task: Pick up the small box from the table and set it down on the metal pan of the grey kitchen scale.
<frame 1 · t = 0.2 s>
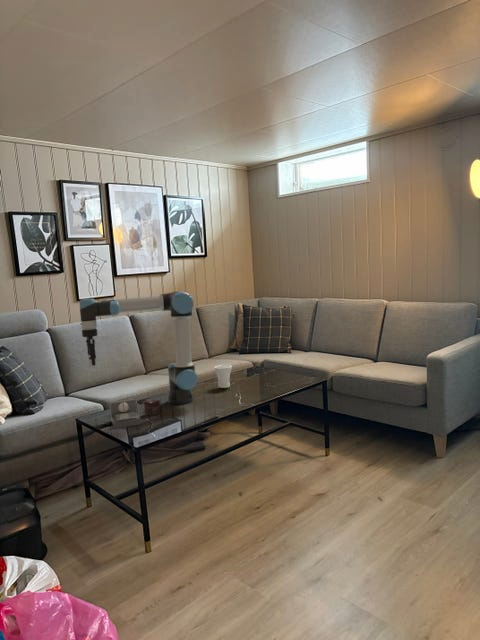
hand: (92, 369, 247), 28 cm above the table, tool pointing down, fingers open, 13 cm apart
box: (152, 414, 257), on the table
cup: (224, 388, 306), on the table
scale: (125, 422, 244), on the table
pan: (125, 416, 242), point 4 cm above the table, slide at -0.7 cm
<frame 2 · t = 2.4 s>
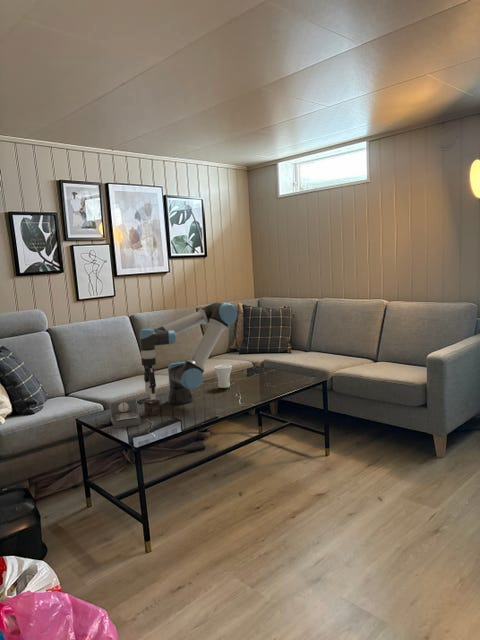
hand: (150, 396, 256), 10 cm above the table, tool pointing down, fingers open, 13 cm apart
nothing on the table moved.
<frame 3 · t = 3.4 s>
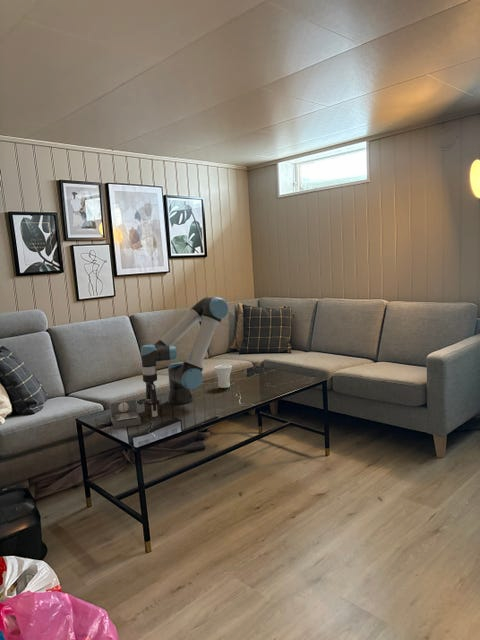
hand: (152, 413, 257), 0 cm above the table, tool pointing down, fingers open, 11 cm apart
nothing on the table moved.
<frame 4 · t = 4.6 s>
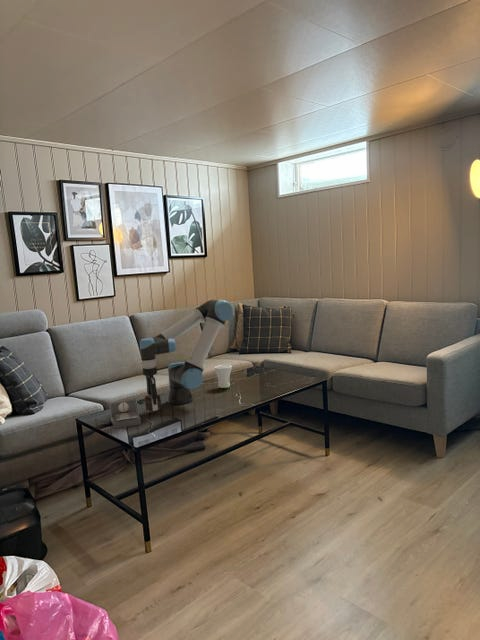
hand: (153, 408, 257), 3 cm above the table, tool pointing down, fingers closed on box, 8 cm apart
box: (153, 409, 257), point 2 cm above the table, touching gripper
everything else where it was.
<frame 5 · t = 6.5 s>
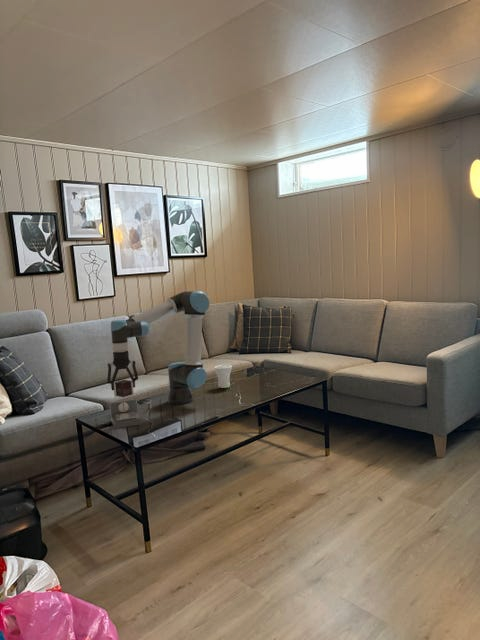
hand: (124, 395, 241), 15 cm above the table, tool pointing down, fingers closed on box, 8 cm apart
box: (124, 395, 241), point 14 cm above the table, touching gripper
everything else where it was.
when the fingers open (6 cm above the table, at t = 8.2 s): box drops 1 cm, resting on pan.
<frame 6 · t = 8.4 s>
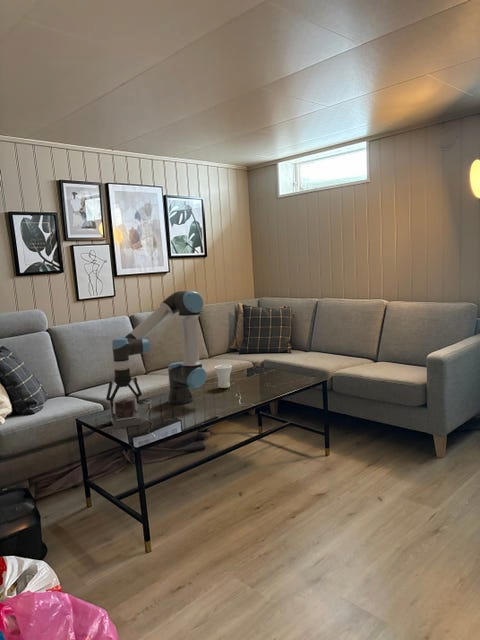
hand: (125, 411, 242), 6 cm above the table, tool pointing down, fingers open, 10 cm apart
box: (125, 415, 242), point 4 cm above the table, touching pan
pan: (125, 416, 242), point 4 cm above the table, slide at -0.9 cm, touching box
everything else where it was.
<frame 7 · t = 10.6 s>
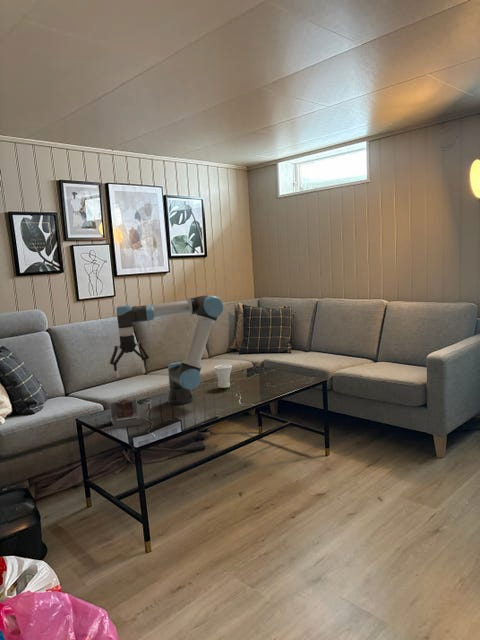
hand: (131, 374, 251), 23 cm above the table, tool pointing down, fingers open, 13 cm apart
nothing on the table moved.
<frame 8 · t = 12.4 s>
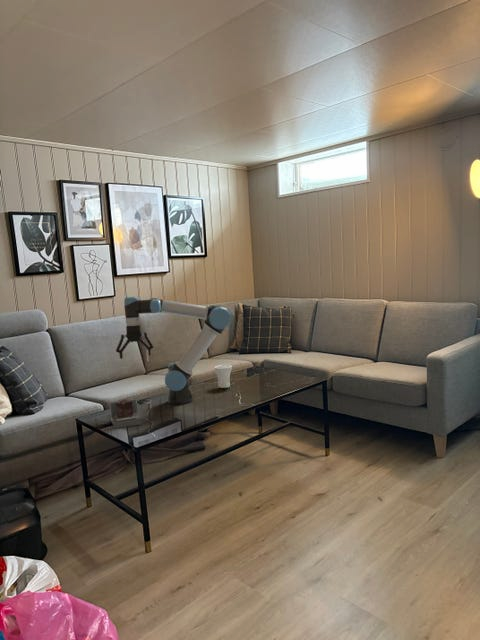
hand: (135, 362, 263), 27 cm above the table, tool pointing down, fingers open, 13 cm apart
nothing on the table moved.
at the end: box inside the target area on the pan (0.3 cm from its centre), point 4.8 cm above the pan's base; box tilted 0°; box touching pan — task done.
